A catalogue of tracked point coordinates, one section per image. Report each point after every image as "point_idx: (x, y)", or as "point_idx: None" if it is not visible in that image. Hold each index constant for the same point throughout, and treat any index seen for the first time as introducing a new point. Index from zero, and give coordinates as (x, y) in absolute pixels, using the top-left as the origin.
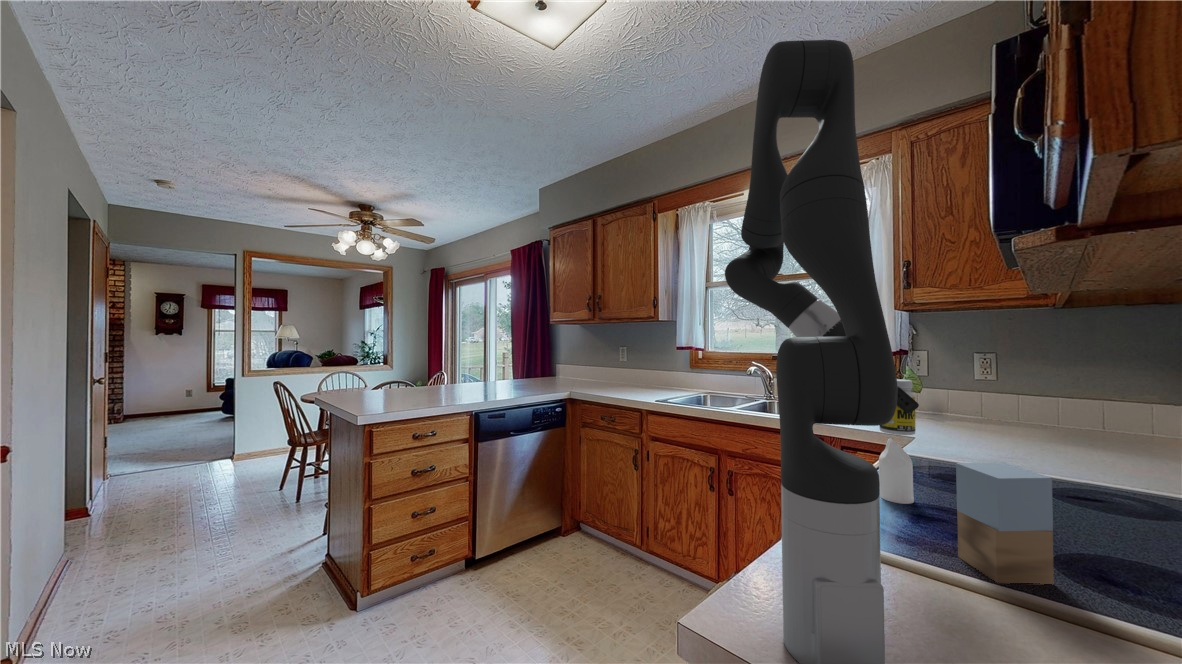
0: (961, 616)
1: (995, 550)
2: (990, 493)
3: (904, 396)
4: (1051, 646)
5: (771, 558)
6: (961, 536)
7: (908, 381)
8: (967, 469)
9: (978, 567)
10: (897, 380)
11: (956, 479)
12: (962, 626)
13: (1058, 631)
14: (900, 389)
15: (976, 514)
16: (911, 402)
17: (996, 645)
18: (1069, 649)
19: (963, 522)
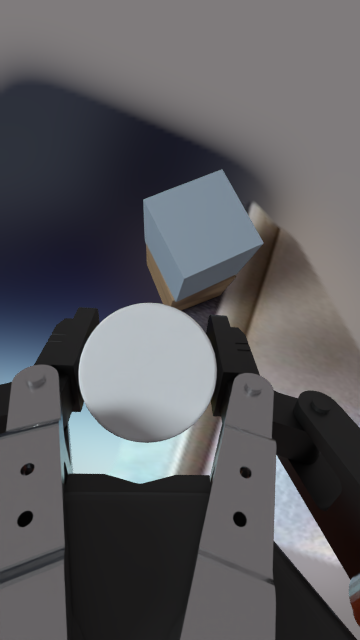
0: (305, 344)
1: (228, 285)
2: (240, 261)
3: (251, 358)
4: (316, 290)
5: (278, 538)
6: (176, 306)
7: (197, 324)
8: (208, 269)
9: (197, 303)
10: (184, 371)
11: (181, 288)
12: (322, 347)
13: (289, 276)
14: (241, 368)
15: (208, 285)
16: (246, 338)
17: (337, 329)
18: (314, 279)
19: (182, 300)
